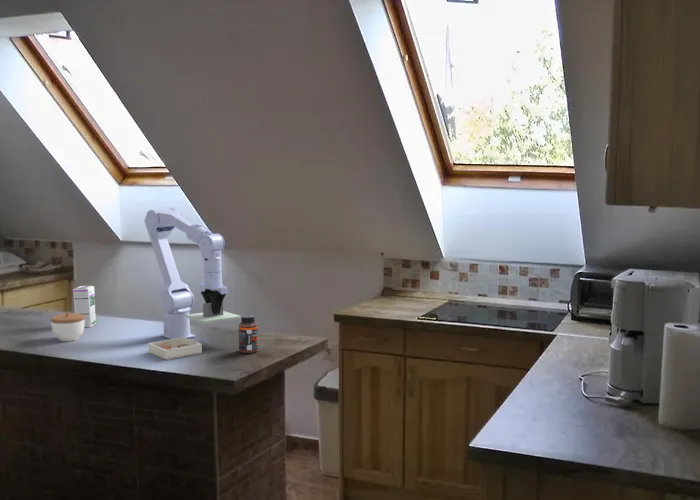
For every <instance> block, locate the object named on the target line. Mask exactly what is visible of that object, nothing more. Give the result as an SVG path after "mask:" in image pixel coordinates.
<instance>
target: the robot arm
mask: <svg viewBox="0 0 700 500" xmlns="http://www.w3.org/2000/svg"><path fill="white" fill-rule="evenodd" d="M144 224H145V227H146V230H147V231H146V232H147V233H148V236H149V239H150V242H151V246H152V248H153V252H154V255H155V258H156V262H157V265H158V268H159V270H160V274H161V276H162V280H163V283H164V287H163V288H162V289H161V292H160V296H161V305H162V308H163V310H164V311H165V313H164V315H163V334H161V337H164V338H166V339H168V340H169V339H175V338H180V337H184V338H187V339H190V338H195V337H196V335H195V334H193V333H191V324H190V323H191V319H189V318H186V315H188V314H190V312H191V311H192V308H193V306H194V304H195V296H194V293H192V291H191V289H190V286H189V285H188V284H187V283H185V282H183V281H182V280H181V277H180V274H179V272H178V269H177V264H176V262H175V258H174V255H173V253H172V250H171V247H170V242H169V241H168V237H169V235H171V234H172V233H173V231H174V230H175V229H177V230H179V231H181V232H182V233H185V235H186V238H187V239H188V240H190V241H191V242H193V243H194V244H195V245H197V246H198V248H199V250H200V252H201V256H202V259H203V260H202V261H203V282H199V289H201V290H204V291H200V294H201V295H202V297H203V300H204V302H205V303H211V304H212V311H213V314H220V310H221V305H222V303H224V299H225V297H226V296H227V295H228V293H229V292H228V287H227V286H225V285H224V284H223V272H222V271H223V266H222V265H223V264H222V263H223V262H222V251H224V249H225V246H226V242H225V238H224V236H223V235H222V234H220V232H219V233H216V232H215V233H212V231H211V230H209V229H206V228H204V227H203V224H201V223H194V224H192V223H191V222H190V221H188V220H187V219H185V217H183V216H181V215H180V212H179V211H178V210H176V209H175V208H167V209H165V208H164V209H149V210H148V211H147V212H146V214H145V218H144Z"/></svg>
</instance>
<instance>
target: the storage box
mask: <svg viewBox="0 0 700 500" xmlns="http://www.w3.org/2000/svg"><path fill="white" fill-rule="evenodd" d="M147 344H148V345H147V346H148V348H147V349H148V354H150V355H153V356H155V357H156V358H160V359H162V360H165V361H170V360H176V359H179V358H185V357H189V356H195V355H200V354H203V346H202V345H203V344H202V343H201V342H199V341H195V340H192V339H190V338H184V337H180V338H175V339H169V338H168V339H164V340H160V341H153V342H147Z"/></svg>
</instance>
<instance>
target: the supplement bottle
mask: <svg viewBox="0 0 700 500" xmlns="http://www.w3.org/2000/svg"><path fill="white" fill-rule="evenodd" d="M258 325H259V324H258V323H257V322H256V321H255V315H253V314H245V315H241V322H240V323H239V324H238V351H239V352H240V353H242V354H254V353H257V352H258V350H259V330H258V329H259V326H258Z"/></svg>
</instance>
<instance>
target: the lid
mask: <svg viewBox="0 0 700 500" xmlns="http://www.w3.org/2000/svg"><path fill="white" fill-rule="evenodd" d="M186 318H189V319H190V320H192V321H195V322H199V323H202V324H205V325H207V324H213V323H218V322H219V323H220V322H226V321H234V320H240V319H241V320H242V315H239V314H235V313H231V312H228V311H225V310H224V302H222V305H221V310H220V314H213V311H212V304H211V303H206V302H205V303H202V312H198V313H197V312H196V313H189V314H188V315H186Z"/></svg>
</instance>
